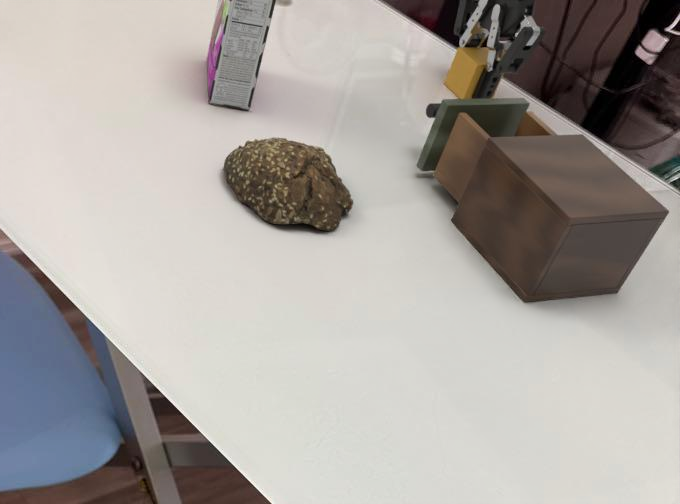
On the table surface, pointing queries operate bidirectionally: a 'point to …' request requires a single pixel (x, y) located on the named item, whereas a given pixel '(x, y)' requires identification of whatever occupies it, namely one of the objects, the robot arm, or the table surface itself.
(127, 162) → the table surface
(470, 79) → the block
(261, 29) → the candy bar box
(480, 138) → the drawer
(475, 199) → the cabinet
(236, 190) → the bread roll
